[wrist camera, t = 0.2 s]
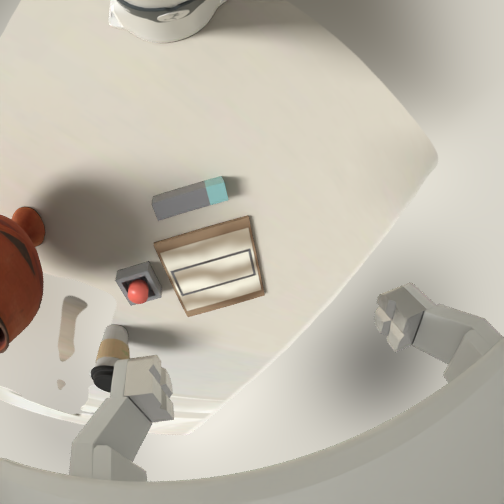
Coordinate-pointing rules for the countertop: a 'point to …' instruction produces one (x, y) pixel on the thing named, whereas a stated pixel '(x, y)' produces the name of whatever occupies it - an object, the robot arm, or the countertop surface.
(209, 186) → the block
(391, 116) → the countertop surface
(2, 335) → the goblet
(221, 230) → the drawing board
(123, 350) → the coffee cup
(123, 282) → the button housing
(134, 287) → the button
